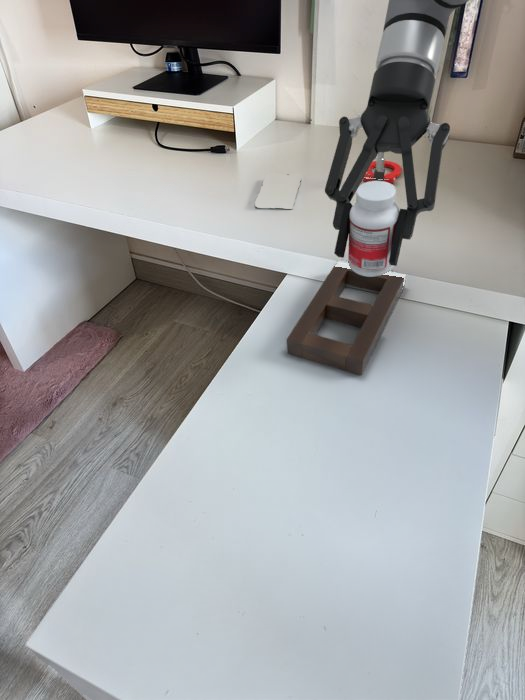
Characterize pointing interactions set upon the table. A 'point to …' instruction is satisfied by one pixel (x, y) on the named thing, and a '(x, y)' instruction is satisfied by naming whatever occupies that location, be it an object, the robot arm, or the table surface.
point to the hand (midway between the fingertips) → (365, 259)
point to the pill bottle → (372, 228)
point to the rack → (345, 320)
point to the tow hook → (383, 170)
